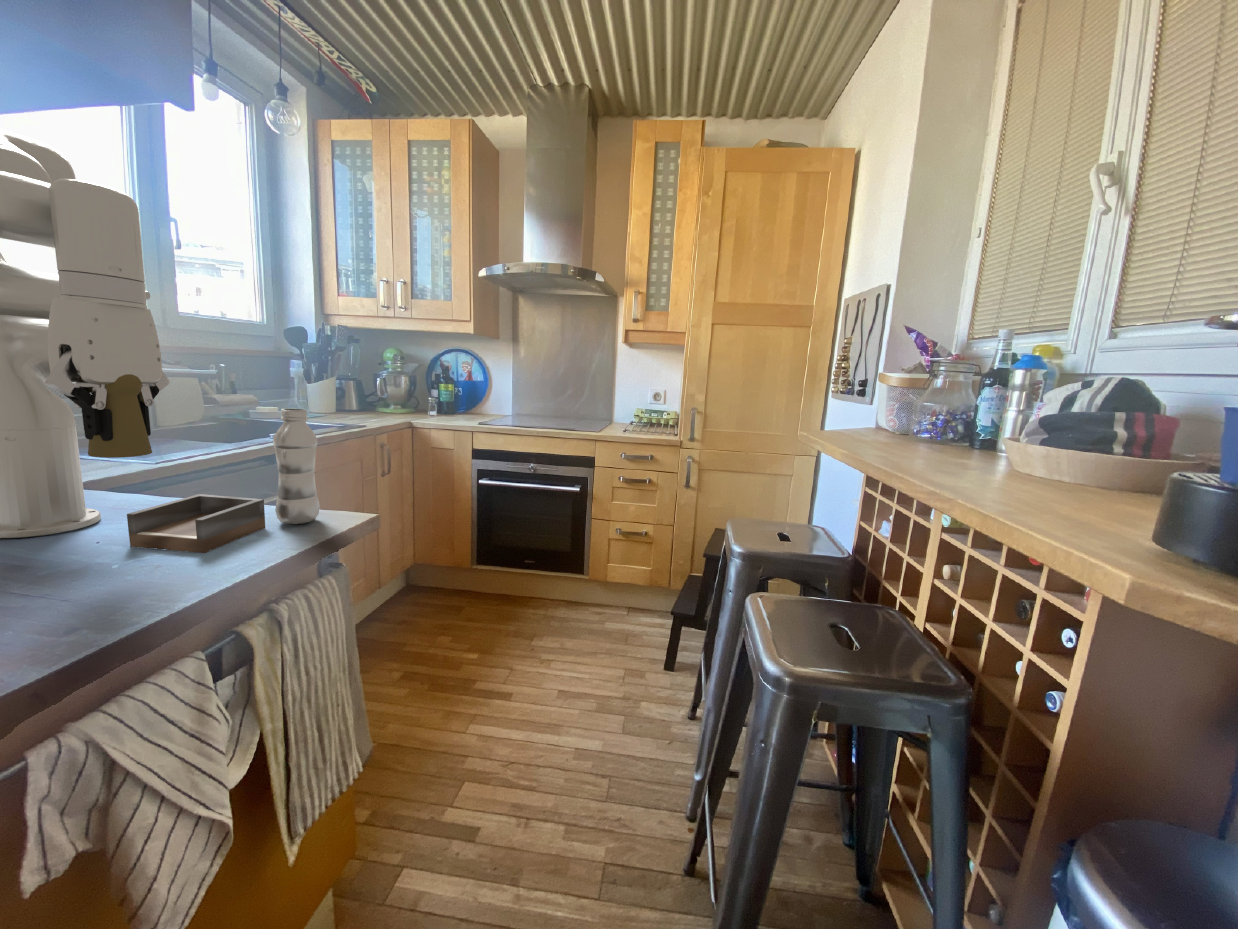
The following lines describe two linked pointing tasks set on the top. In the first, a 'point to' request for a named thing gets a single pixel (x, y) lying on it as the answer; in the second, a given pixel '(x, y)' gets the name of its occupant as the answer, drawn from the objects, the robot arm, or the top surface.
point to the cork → (123, 422)
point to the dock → (196, 523)
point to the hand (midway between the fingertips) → (119, 435)
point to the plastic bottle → (296, 468)
